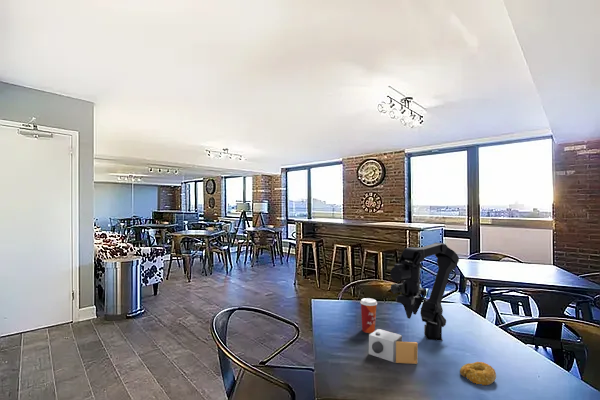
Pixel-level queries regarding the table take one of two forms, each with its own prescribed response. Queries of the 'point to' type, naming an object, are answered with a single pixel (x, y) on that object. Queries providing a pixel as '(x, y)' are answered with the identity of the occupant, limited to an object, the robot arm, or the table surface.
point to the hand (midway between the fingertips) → (411, 316)
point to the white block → (383, 344)
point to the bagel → (479, 373)
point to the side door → (405, 352)
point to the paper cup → (368, 314)
